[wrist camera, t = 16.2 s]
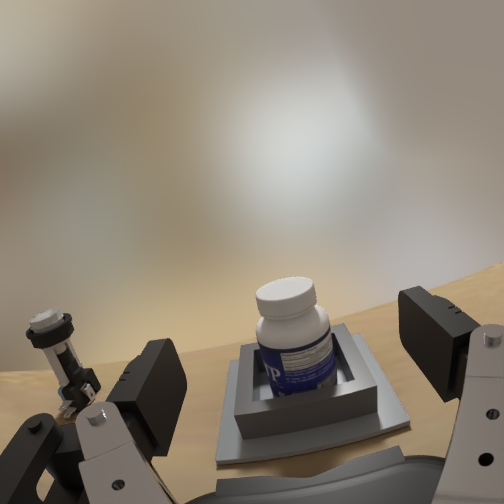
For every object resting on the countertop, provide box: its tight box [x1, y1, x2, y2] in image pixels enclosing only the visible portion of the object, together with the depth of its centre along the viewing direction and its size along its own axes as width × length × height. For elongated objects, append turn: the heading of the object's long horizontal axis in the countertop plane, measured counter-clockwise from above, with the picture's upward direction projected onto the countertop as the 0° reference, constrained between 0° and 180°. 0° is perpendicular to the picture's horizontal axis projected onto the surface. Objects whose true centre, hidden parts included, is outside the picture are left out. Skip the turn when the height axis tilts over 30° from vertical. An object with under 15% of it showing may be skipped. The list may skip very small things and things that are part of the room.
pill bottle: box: [256, 277, 338, 398], centre depth 22 cm, size 5×5×9 cm
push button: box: [26, 308, 101, 418], centre depth 26 cm, size 7×5×10 cm
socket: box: [215, 323, 410, 465], centre depth 23 cm, size 13×13×3 cm
